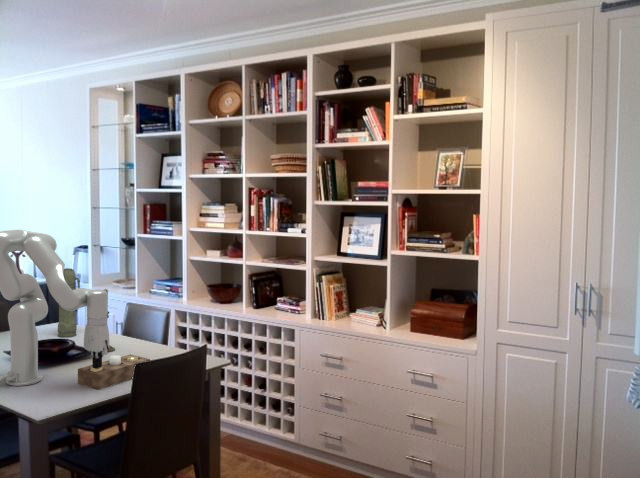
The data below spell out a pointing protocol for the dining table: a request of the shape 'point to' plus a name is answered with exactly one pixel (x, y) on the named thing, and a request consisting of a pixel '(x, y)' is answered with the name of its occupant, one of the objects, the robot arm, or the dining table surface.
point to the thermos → (66, 318)
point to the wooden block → (108, 373)
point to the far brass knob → (132, 358)
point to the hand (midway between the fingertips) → (97, 367)
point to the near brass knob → (96, 369)
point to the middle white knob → (115, 360)
